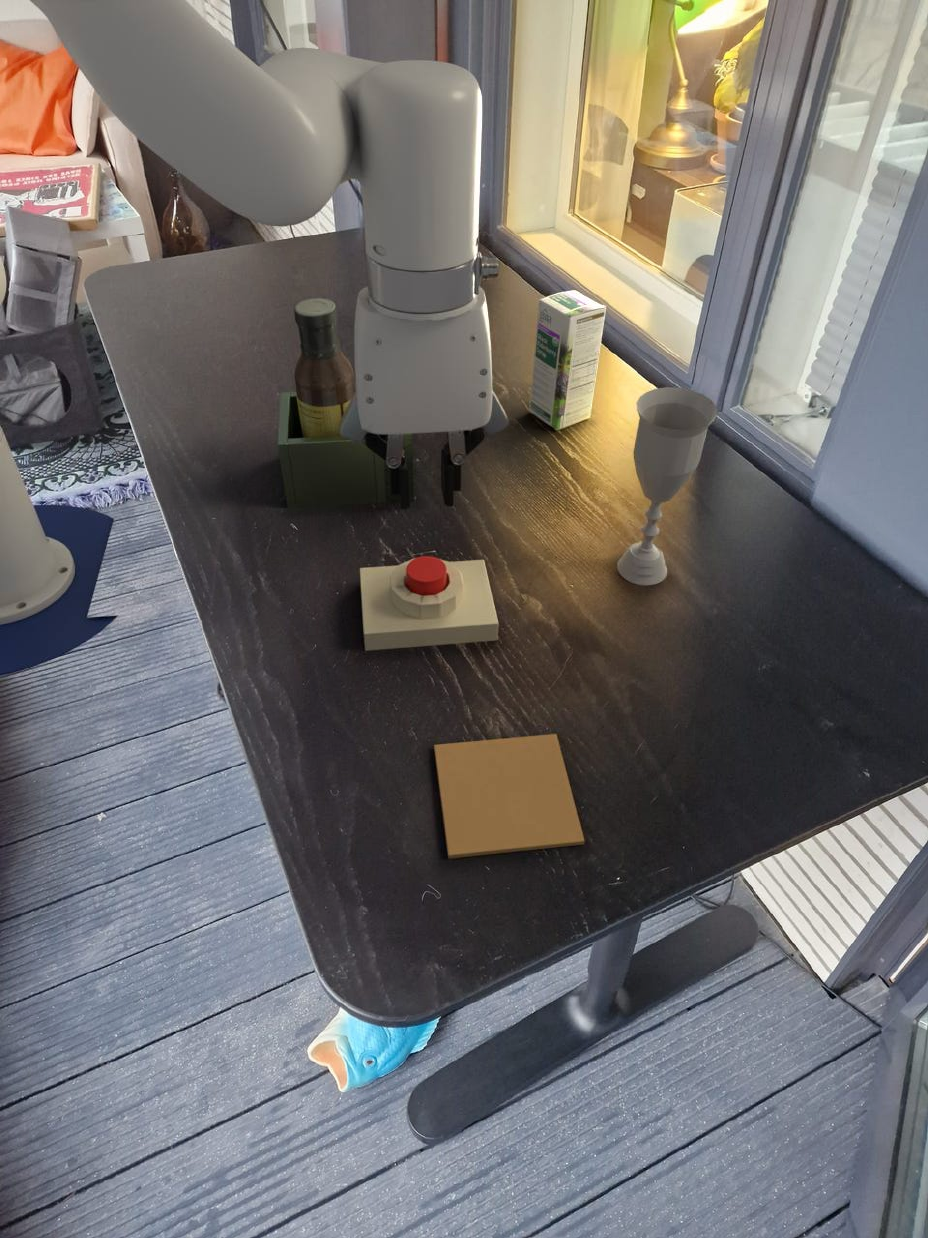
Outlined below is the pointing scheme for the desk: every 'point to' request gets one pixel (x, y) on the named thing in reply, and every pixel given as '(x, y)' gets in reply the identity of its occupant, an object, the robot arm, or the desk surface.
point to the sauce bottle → (321, 370)
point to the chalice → (664, 466)
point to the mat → (505, 796)
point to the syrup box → (566, 358)
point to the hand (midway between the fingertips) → (425, 496)
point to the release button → (426, 575)
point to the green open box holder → (331, 466)
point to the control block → (427, 608)
